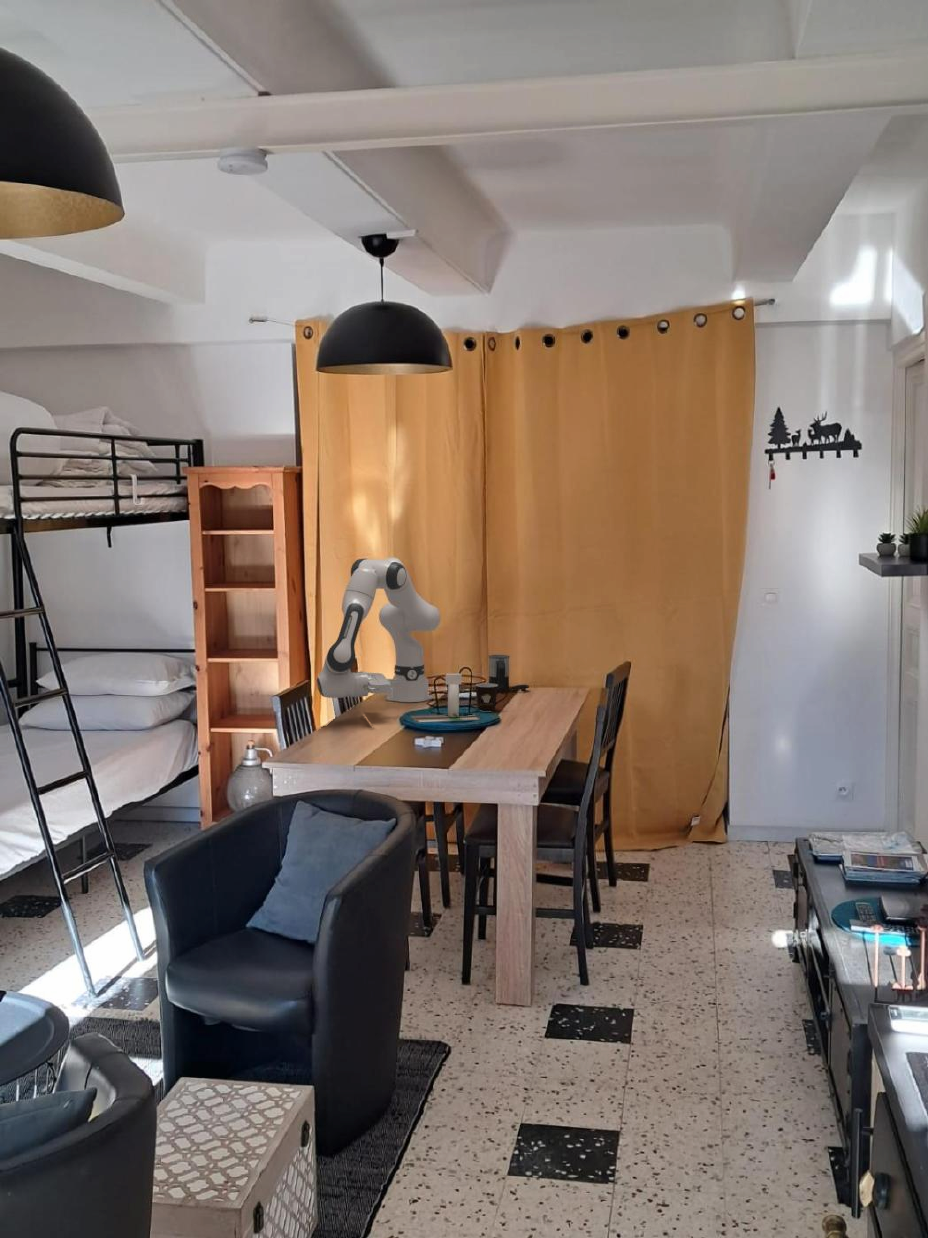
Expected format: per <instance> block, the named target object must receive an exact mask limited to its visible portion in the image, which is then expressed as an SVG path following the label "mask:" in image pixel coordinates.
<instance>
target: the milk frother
mask: <svg viewBox="0 0 928 1238" xmlns="http://www.w3.org/2000/svg"><path fill="white" fill-rule="evenodd" d="M510 658H511V655H508V654H490V655H489V654H488V683H490V684H497V685H498V689H497V690H499V689H502V688H503V689H505V690H507V692H509V691H510V690H513V691H514V690H515V691H516V690H521V691H522V692H523V691H526V689H529V688H530V685H529V684H517V685H513V686H511V687H510ZM499 692H500V693H501V692H502V693H503V692H505V693H506V691H504V690H500V691H499ZM499 692H498V693H499Z"/></svg>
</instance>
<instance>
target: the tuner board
mask: <svg viewBox="0 0 928 1238" xmlns="http://www.w3.org/2000/svg"><path fill="white" fill-rule="evenodd" d="M472 714H473V715H468V716H460V717H448V716H446V715H447V714H429V715H428V714H427V715H410V717H411V718H412V719H413V720H414V722H415V723H433V722H434V723H435V722H436V723H437V722H457V721H458V722H459V721H460V722H461V721H462V722H464V721H481V720H482V719H481V718H480V717H479V716H477V715H476V714H475V713H472Z"/></svg>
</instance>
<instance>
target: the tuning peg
mask: <svg viewBox="0 0 928 1238" xmlns="http://www.w3.org/2000/svg"><path fill="white" fill-rule="evenodd" d="M462 675H463V674H462V673H446V674H445V685H447V715H448V717H459V714H460V685H462V679H463V678H462Z"/></svg>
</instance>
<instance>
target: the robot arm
mask: <svg viewBox="0 0 928 1238" xmlns="http://www.w3.org/2000/svg"><path fill="white" fill-rule="evenodd" d="M377 589H380V590H384V593H385V595H386V598H387V600H388V603H386V604H384V605H383V606H382V607H381V608H380V610H379V613H378V619H379V623H380V625H381V627H383V628H384V629H385V630H386V631H387V632H388V633H389V635H390V637H391V638H392V641H393V644H394V648H395V649H394V650H395V665H394V676H393V678H387V677H386V676H385V675H384V674H383V673H380V672H366V671H358V672H352V671H351V668H352V667H353V665H354V664H355V663H356V662H355V661H356V649H355V644H356V640H357V637H358V634H359V630H360V627H361V624H362V623H363V621H364V620H365V619H366V618H367V616H368V615H369V613H370V610H371V609H372V607H373V603H374V601H375V597H376V592H377ZM341 611H342V613H343V621H342V624H341V627H340V631H339V634H338V637H337V639H336V641H335V642H334V643H333V644H332V646H331V647H329V649H328V650H327V654H326V657H325V659H324V663H323V667H322V668H321V670H320V673H319V674H318V676H317V678H316V686H317V691H318V692H319V694H320V695H321V696H322V697H324V698H329V699H337V698H338V699H340V698H346V697H351V698H352V697H353V698H358V697H360V698H361V697H368V696H369V694H370V693H371V694H374V695H375V694H381V695H382V694H386V699H385V700H386V701H389V702H390V701H392V702H399V703H417V702H418V703H419V702H425V701H428V700H432V699H433V695H431V694H430V693H429V680H428V679H429V678H428V677H426V676H425V665H424V647H423V645H422V643H421V642H420V641H418V640H417V639H416V638H414V637H413V635H412V633H411V632H423V633H424V632H430V631H435V630H436V629H438V627H439V625H440V624H441V613H440V611H439V609H438V608H437V607H436V606H434V605H432V604H430V603H429V602H427V601H426V600H425V599H424V598H423V597H421V595H420V594H418V593H417V591H416V589H415V587H414V585H413V583H412V580H411V577H410V575H409V572H408V570H407V568H406V567H405V565H404V563H403V562H402V561H401V560H400V559H399V558H397V557H387V558H385V559H376V558H374V559H373V558H371V559H369V558H358V559H356V560H355V561H354V562H353V563H352V565H351V567H350V579H349V581H348V583H347V585H346V587H345V591H344V594H343V597H342V604H341Z"/></svg>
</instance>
